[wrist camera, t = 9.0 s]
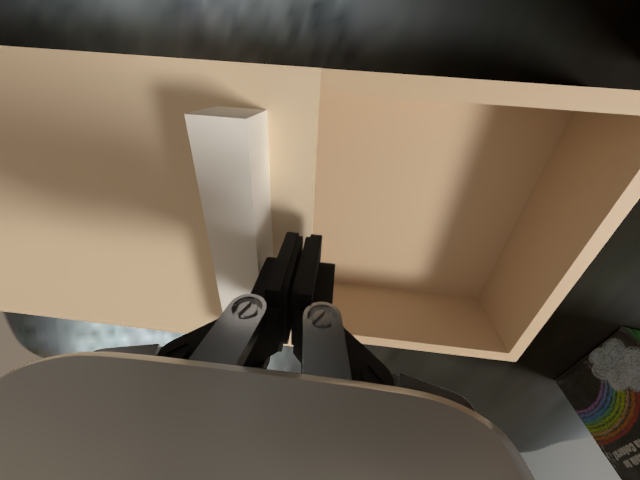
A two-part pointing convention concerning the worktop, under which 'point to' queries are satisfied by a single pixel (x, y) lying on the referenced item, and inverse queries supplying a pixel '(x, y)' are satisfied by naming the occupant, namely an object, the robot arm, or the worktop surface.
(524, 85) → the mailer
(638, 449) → the chalk box
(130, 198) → the lid
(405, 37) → the worktop surface
